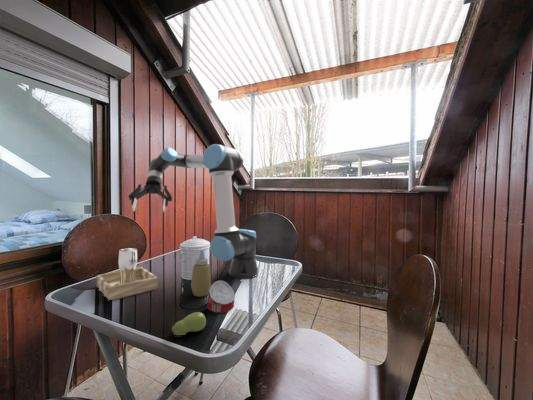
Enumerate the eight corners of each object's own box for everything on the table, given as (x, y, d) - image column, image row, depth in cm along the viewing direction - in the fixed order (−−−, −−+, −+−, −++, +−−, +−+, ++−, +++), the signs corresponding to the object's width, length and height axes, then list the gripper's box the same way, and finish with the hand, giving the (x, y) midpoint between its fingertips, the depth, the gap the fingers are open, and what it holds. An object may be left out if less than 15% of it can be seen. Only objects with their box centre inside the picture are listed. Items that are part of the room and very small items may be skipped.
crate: (157, 289, 105) (157, 277, 105) (108, 301, 92) (108, 288, 92) (141, 277, 117) (142, 267, 117) (96, 286, 104) (96, 275, 104)
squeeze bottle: (214, 293, 103) (216, 250, 102) (200, 300, 96) (201, 254, 96) (201, 288, 107) (202, 247, 107) (186, 294, 100) (187, 250, 100)
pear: (207, 314, 75) (173, 328, 69) (209, 330, 75) (176, 345, 70) (201, 306, 79) (168, 319, 74) (203, 321, 80) (171, 335, 74)
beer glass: (128, 289, 101) (129, 252, 100) (113, 287, 102) (114, 251, 101) (140, 283, 107) (141, 248, 107) (126, 281, 109) (127, 247, 108)
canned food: (229, 313, 97) (242, 290, 97) (225, 323, 87) (240, 298, 87) (204, 298, 97) (217, 275, 98) (197, 307, 87) (212, 282, 88)
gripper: (178, 186, 142) (175, 215, 128) (130, 184, 135) (121, 214, 121) (178, 176, 137) (175, 205, 123) (127, 173, 130) (118, 204, 116)
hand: (148, 210), depth 122 cm, fingers open, 13 cm apart
